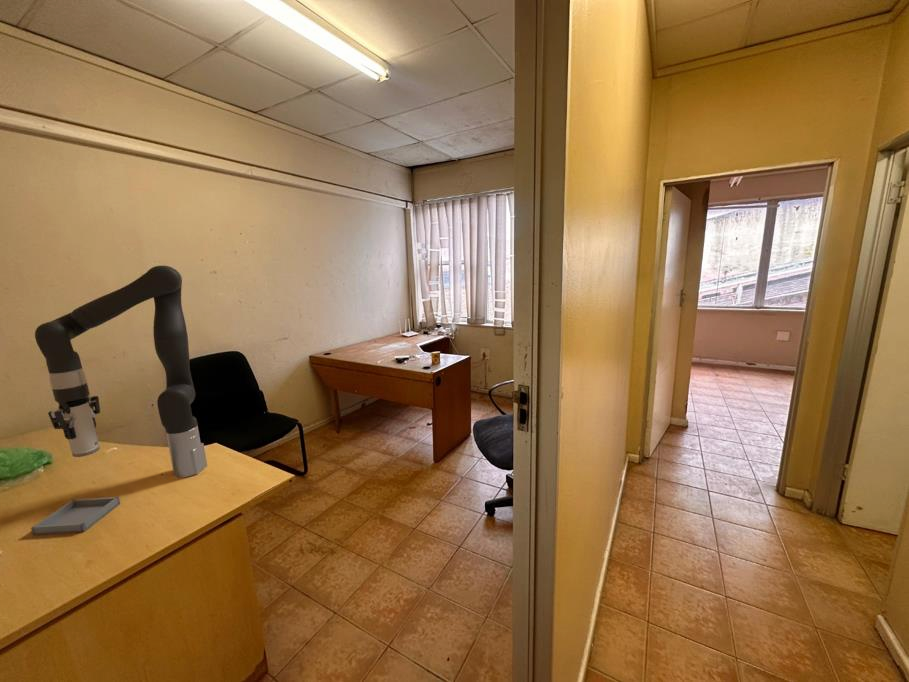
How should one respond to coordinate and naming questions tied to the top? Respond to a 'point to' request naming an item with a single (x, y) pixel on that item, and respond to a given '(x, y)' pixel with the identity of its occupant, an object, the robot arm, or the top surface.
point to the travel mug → (82, 429)
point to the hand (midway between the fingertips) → (82, 433)
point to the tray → (76, 516)
